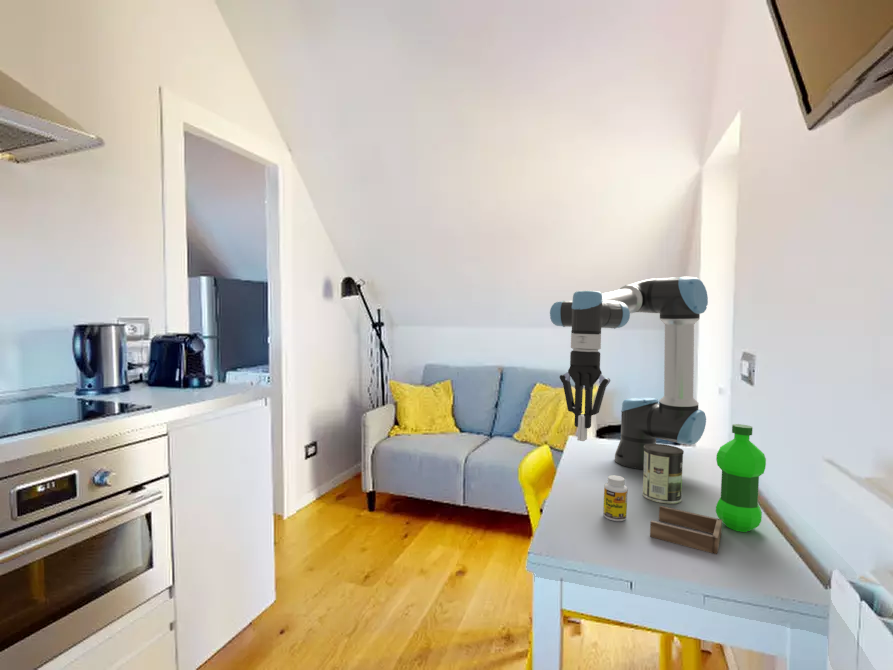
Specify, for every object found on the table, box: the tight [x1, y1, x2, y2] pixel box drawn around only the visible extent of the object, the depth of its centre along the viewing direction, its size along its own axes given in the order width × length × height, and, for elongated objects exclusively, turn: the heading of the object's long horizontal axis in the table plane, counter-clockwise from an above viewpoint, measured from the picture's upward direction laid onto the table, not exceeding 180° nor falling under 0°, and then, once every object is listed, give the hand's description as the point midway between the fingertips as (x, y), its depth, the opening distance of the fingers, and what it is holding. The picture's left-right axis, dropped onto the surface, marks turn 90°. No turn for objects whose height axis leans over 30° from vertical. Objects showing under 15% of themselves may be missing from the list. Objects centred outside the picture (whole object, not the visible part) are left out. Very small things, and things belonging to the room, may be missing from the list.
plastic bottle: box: [715, 423, 767, 533], centre depth 115 cm, size 10×10×25 cm
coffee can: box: [642, 443, 685, 505], centre depth 134 cm, size 10×10×14 cm
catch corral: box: [649, 505, 723, 555], centre depth 110 cm, size 12×14×4 cm
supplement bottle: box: [602, 474, 629, 522], centre depth 119 cm, size 6×6×10 cm
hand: (582, 439), depth 124 cm, fingers closed
